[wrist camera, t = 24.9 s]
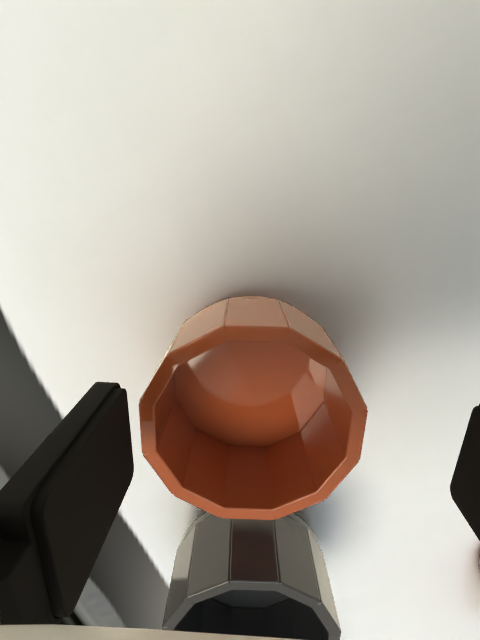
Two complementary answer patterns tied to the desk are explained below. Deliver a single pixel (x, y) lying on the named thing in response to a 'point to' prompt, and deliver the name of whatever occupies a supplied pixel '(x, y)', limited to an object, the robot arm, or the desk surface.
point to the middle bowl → (252, 411)
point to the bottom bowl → (251, 580)
